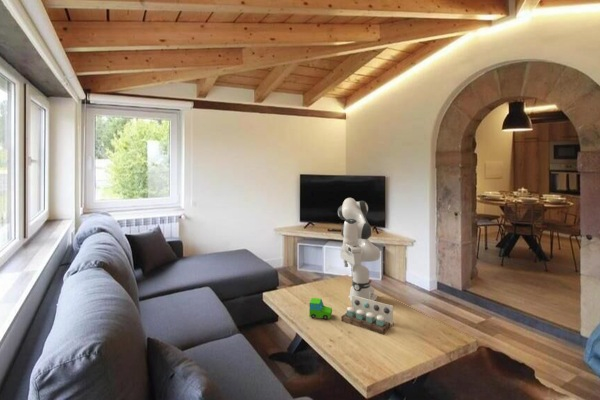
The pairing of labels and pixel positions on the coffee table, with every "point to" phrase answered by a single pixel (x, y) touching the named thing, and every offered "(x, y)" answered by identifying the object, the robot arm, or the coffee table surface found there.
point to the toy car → (319, 309)
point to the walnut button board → (365, 324)
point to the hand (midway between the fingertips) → (349, 269)
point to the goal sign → (373, 308)
